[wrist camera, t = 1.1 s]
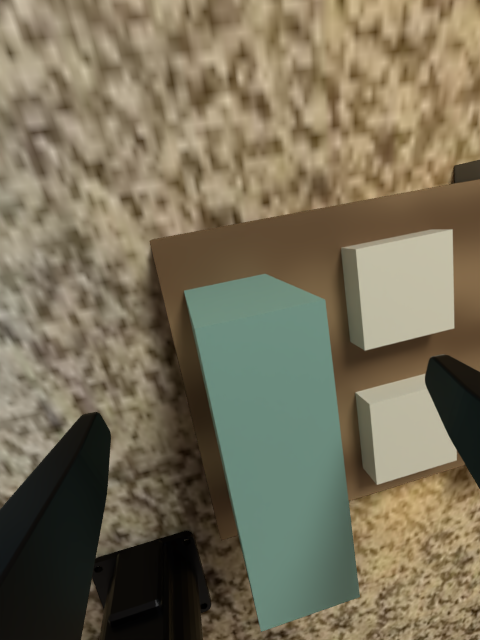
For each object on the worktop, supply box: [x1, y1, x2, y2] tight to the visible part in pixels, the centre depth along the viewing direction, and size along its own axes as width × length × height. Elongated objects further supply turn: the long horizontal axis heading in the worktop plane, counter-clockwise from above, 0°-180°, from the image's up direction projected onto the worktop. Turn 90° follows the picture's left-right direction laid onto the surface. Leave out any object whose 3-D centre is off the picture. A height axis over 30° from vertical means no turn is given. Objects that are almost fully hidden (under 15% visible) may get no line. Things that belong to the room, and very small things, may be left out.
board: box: [150, 179, 480, 541], centre depth 21 cm, size 17×18×3 cm
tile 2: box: [355, 374, 457, 485], centre depth 21 cm, size 5×5×2 cm
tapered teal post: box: [184, 274, 360, 632], centre depth 16 cm, size 12×4×7 cm, turn 10°
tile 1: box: [341, 229, 454, 350], centre depth 18 cm, size 5×5×2 cm
